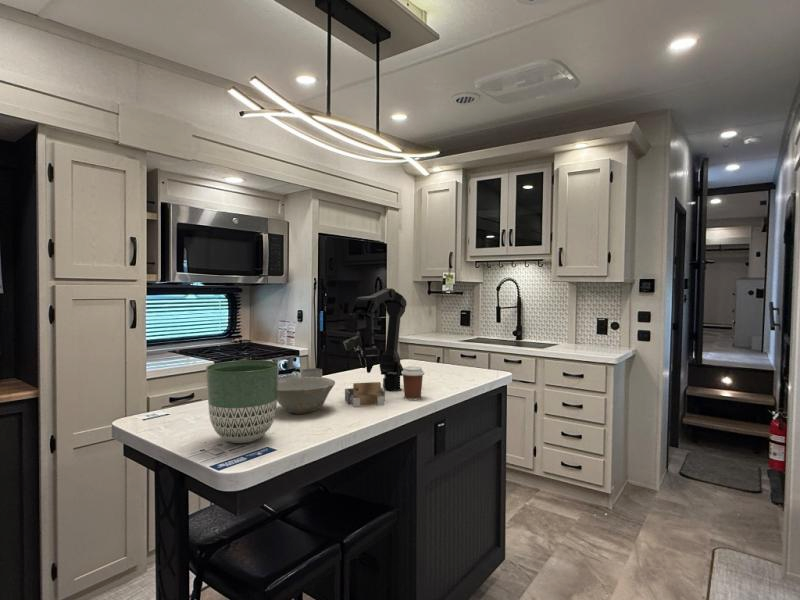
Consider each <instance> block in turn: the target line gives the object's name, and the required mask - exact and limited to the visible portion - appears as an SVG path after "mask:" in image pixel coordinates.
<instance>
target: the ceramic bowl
mask: <svg viewBox="0 0 800 600" xmlns="http://www.w3.org/2000/svg"><path fill="white" fill-rule="evenodd" d="M335 384H336V381H335V380H333V379H332V378H329V377H323V376H322V377H301V376H293V377H292V376H291V377H286V378H285V377H284V378H280V379H279V378H278V391H277V403H278V404H279V405H280V406H281V407H283V408H284V409H285V410H286V411H287V412H289V413H291V414H295V415H298V414H299V415H304V414H307V413H310V412H314V411H316V410H318V409H320V408H321V407H322V406H324V404H325V401H326V400H327V397H328V396H329V394H330V392H331V390H332V389H333V388H334V386H335Z"/></svg>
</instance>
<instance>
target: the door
mask: <svg viewBox="0 0 800 600" xmlns="http://www.w3.org/2000/svg"><path fill="white" fill-rule="evenodd" d="M352 388H353V398H360V407H361V406H370V405H371V406H372V405H373V406H374V405H376V406H377V397H381V388H382V383H381V381H372V382H356V383H355V382H354V383H353V387H352Z"/></svg>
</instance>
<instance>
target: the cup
mask: <svg viewBox="0 0 800 600" xmlns="http://www.w3.org/2000/svg"><path fill="white" fill-rule="evenodd" d="M300 377H322V378H323V369H321V368H312V367H311V368H303V369H301V370H300Z"/></svg>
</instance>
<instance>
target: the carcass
mask: <svg viewBox="0 0 800 600" xmlns="http://www.w3.org/2000/svg"><path fill="white" fill-rule="evenodd" d="M385 393H386V390H385V389H384V388H382V387H381V397H377V404H376V406H384V405H385V401H386V399H385V398H386V397H385V396H386V395H385ZM344 400H345V402H346V403H347V404H348V405H352V407H354V408H355V407H361V406H360V398H353V387H350V388H344Z"/></svg>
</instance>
